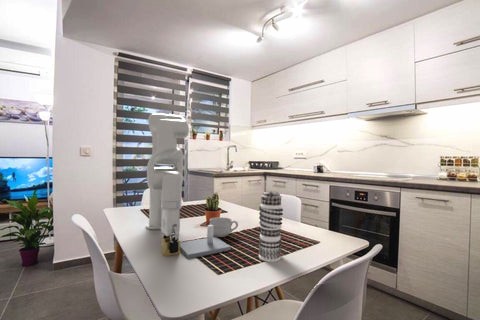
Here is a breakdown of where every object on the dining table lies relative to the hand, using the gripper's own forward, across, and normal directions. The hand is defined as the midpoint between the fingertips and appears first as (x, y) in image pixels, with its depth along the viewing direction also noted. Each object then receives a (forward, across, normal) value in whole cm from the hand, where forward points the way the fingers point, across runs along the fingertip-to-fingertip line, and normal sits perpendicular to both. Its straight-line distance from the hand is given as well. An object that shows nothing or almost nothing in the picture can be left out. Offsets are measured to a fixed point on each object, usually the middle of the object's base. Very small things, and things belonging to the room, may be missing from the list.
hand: (170, 248), depth 95 cm
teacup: (+2, -9, +28) cm, 29 cm away
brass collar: (+1, 0, 0) cm, 1 cm away
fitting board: (+1, +2, +13) cm, 13 cm away
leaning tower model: (+2, +22, +32) cm, 39 cm away
